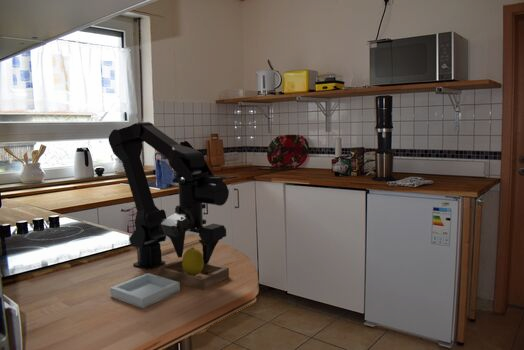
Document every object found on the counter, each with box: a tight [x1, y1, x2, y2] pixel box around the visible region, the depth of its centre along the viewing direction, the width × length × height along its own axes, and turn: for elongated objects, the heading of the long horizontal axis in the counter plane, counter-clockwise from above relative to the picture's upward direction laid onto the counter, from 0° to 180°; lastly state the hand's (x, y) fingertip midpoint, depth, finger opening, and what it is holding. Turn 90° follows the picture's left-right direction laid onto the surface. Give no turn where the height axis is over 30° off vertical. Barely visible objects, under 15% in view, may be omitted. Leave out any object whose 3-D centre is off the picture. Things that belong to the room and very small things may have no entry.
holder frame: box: [157, 257, 230, 291], centre depth 113 cm, size 15×10×2 cm, turn 55°
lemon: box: [181, 246, 204, 277], centre depth 112 cm, size 6×6×8 cm
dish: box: [109, 272, 181, 309], centre depth 102 cm, size 11×11×2 cm
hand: (192, 260), depth 112 cm, fingers open, 9 cm apart
